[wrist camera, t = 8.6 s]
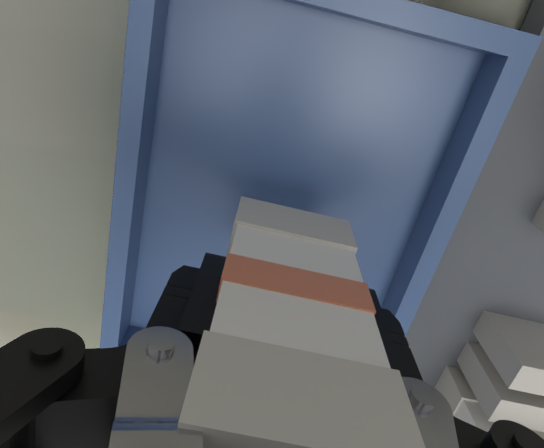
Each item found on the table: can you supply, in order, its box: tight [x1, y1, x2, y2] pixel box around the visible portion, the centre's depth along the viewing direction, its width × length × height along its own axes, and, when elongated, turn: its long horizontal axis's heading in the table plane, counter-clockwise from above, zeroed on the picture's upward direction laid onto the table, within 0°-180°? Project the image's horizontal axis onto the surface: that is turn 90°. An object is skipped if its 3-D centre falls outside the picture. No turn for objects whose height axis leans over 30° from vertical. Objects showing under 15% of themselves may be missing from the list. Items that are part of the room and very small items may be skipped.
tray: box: [100, 0, 543, 348], centre depth 18 cm, size 17×13×2 cm
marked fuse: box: [177, 196, 426, 448], centre depth 11 cm, size 4×4×9 cm
